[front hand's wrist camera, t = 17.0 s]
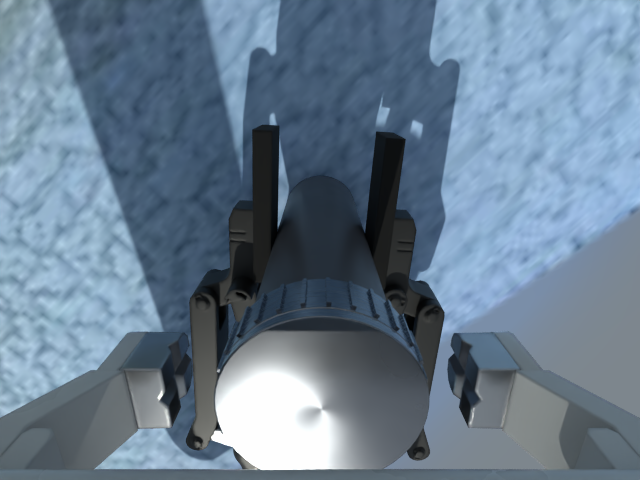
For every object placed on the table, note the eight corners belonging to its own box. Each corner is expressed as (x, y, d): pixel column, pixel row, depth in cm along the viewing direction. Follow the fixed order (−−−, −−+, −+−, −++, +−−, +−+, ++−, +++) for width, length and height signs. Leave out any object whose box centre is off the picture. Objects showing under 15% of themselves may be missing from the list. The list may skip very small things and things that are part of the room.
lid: (198, 303, 10) (174, 345, 8) (393, 253, 9) (410, 287, 7) (263, 444, 11) (253, 502, 10) (429, 408, 11) (448, 464, 9)
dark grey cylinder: (344, 166, 23) (386, 292, 8) (362, 230, 24) (427, 435, 10) (276, 187, 23) (202, 341, 9) (299, 249, 25) (268, 470, 10)
